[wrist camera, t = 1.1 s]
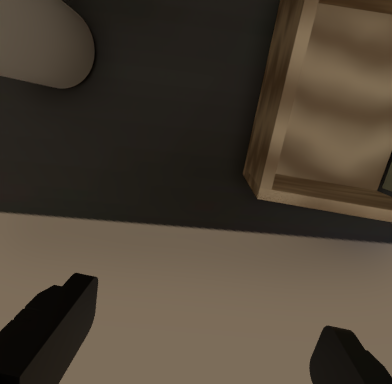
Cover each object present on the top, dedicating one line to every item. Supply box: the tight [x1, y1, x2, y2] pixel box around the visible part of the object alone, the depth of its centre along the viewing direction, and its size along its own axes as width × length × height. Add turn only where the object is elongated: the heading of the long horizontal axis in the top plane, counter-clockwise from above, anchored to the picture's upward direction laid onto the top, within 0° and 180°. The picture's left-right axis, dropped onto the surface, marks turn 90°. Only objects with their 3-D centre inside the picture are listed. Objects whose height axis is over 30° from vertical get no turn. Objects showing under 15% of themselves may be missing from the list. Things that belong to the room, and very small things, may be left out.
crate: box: [243, 0, 392, 222], centre depth 24 cm, size 20×16×11 cm
